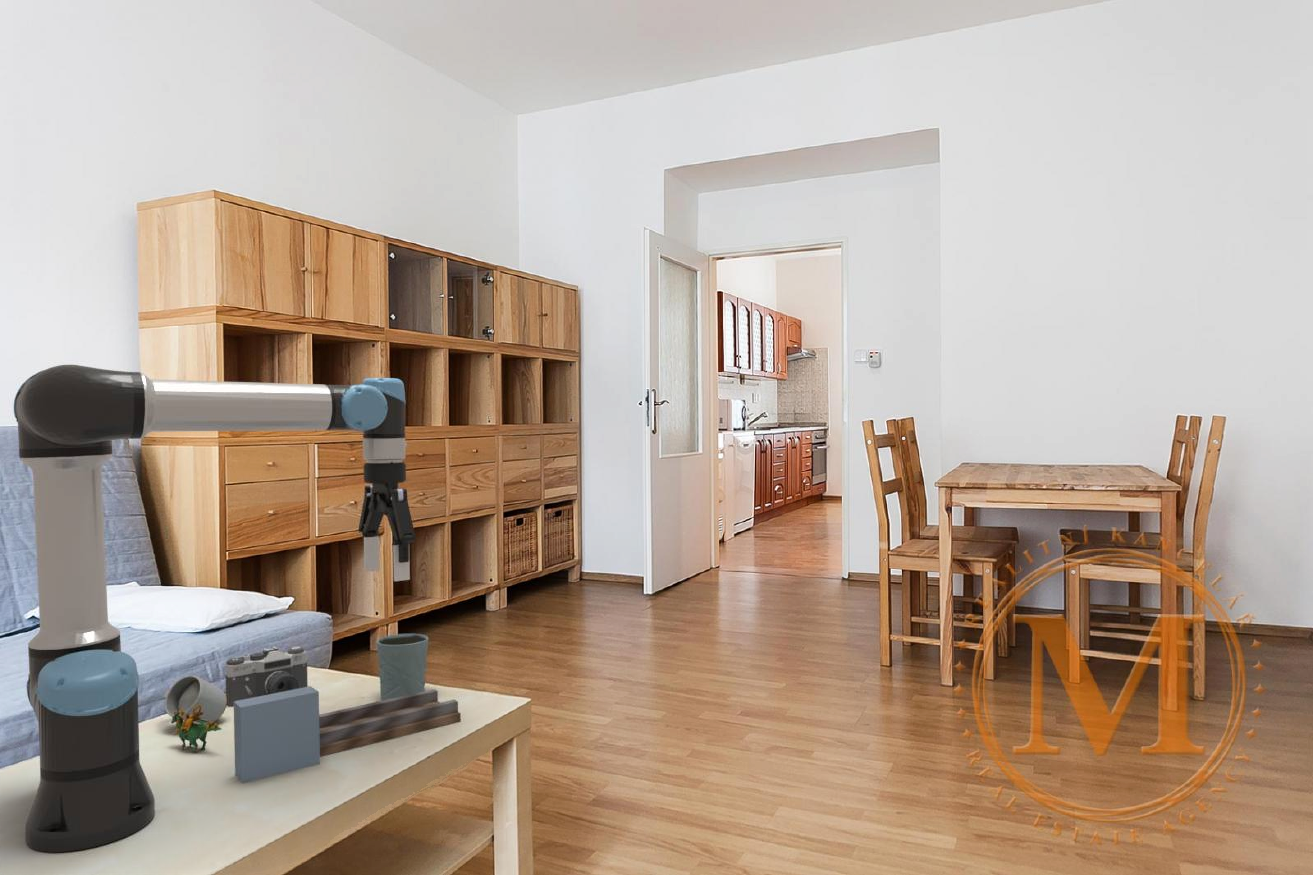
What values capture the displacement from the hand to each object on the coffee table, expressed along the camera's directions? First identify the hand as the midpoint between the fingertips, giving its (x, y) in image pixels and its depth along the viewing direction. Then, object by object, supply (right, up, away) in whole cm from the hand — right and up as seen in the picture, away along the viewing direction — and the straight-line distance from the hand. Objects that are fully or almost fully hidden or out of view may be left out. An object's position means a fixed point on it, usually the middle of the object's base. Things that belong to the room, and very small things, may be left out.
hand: (386, 575), depth 162 cm
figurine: (-29, -28, -13) cm, 42 cm away
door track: (0, -28, -3) cm, 28 cm away
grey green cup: (-1, -28, +16) cm, 32 cm away
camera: (-27, -28, +14) cm, 42 cm away
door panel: (-11, -28, -21) cm, 37 cm away
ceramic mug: (-36, -28, 0) cm, 46 cm away
